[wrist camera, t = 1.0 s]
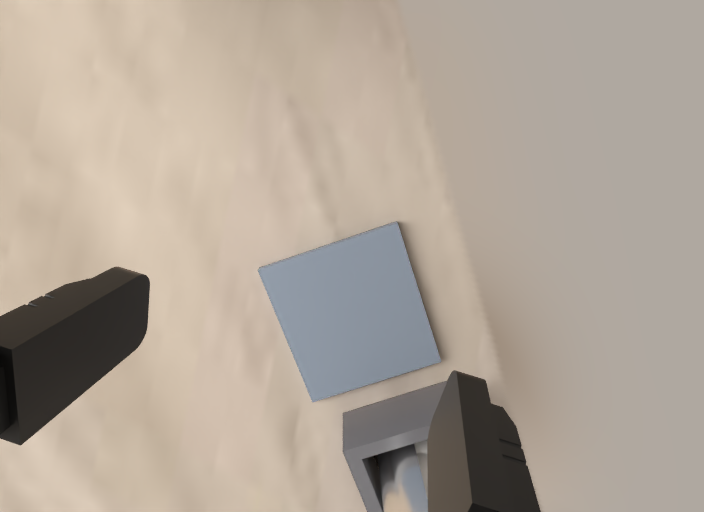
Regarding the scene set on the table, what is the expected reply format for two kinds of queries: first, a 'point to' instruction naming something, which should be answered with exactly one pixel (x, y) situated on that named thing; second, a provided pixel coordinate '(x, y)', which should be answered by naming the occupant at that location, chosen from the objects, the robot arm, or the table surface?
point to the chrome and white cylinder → (404, 478)
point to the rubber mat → (351, 312)
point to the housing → (385, 435)
